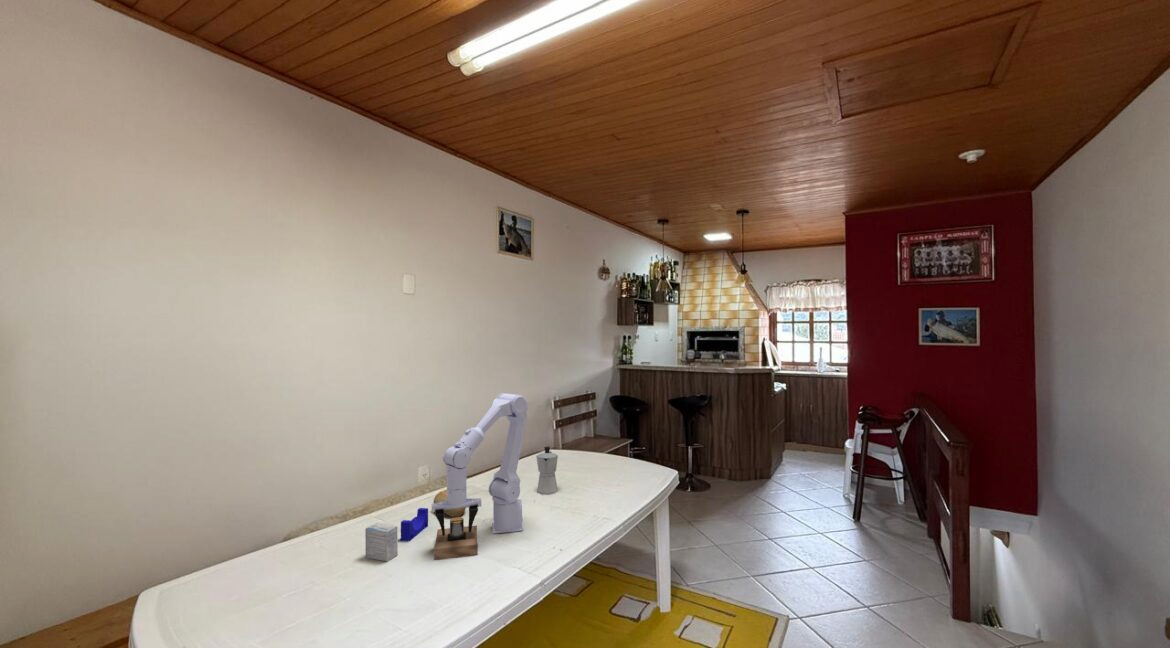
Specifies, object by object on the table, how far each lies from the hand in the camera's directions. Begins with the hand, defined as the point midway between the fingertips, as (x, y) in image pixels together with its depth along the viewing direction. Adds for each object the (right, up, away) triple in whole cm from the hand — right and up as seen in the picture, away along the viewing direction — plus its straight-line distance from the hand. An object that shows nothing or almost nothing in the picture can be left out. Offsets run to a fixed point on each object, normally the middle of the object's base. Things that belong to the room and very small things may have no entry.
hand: (456, 532), depth 142 cm
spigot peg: (0, -4, 0) cm, 4 cm away
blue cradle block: (-17, -5, +10) cm, 21 cm away
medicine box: (-20, -5, -6) cm, 21 cm away
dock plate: (0, -4, 0) cm, 4 cm away
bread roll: (-10, -5, +28) cm, 30 cm away
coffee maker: (+23, -5, +51) cm, 56 cm away
